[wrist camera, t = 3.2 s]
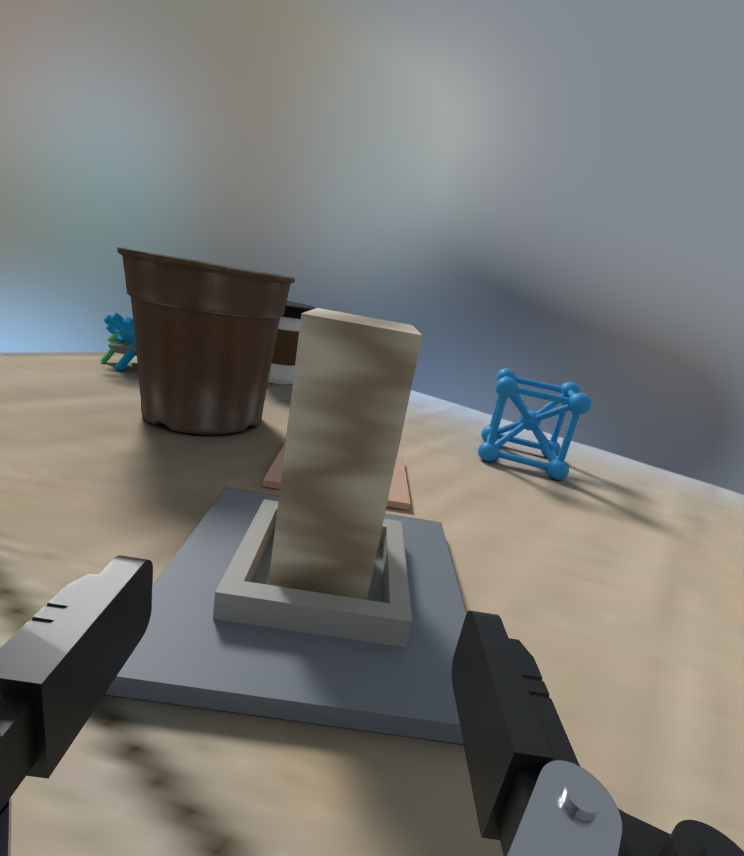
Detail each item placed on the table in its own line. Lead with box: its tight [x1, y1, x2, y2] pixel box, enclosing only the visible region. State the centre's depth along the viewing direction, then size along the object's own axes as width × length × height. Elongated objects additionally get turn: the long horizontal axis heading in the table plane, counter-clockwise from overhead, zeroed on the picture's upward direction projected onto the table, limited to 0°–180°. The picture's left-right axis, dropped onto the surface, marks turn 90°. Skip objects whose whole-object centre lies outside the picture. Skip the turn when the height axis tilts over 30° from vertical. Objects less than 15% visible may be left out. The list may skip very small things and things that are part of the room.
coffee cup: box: [268, 301, 316, 384], centre depth 68 cm, size 11×11×12 cm
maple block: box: [268, 308, 422, 600], centre depth 22 cm, size 5×5×14 cm
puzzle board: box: [105, 488, 466, 744], centre depth 24 cm, size 16×16×2 cm
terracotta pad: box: [262, 441, 411, 510], centre depth 40 cm, size 12×10×1 cm
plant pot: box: [117, 247, 295, 435], centre depth 45 cm, size 16×16×16 cm
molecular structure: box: [478, 368, 592, 480], centre depth 52 cm, size 10×10×10 cm
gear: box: [101, 313, 137, 371], centre depth 60 cm, size 11×6×10 cm
